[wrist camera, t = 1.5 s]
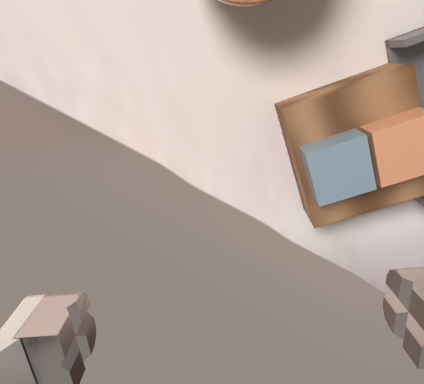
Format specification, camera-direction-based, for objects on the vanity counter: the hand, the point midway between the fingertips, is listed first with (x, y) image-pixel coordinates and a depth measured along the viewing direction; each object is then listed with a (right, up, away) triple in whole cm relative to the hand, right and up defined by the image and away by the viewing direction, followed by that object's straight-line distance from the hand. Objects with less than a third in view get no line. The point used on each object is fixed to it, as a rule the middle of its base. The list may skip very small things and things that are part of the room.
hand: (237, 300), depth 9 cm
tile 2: (+10, +6, +21) cm, 24 cm away
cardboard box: (+13, +8, +25) cm, 29 cm away
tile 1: (+15, +7, +20) cm, 27 cm away
